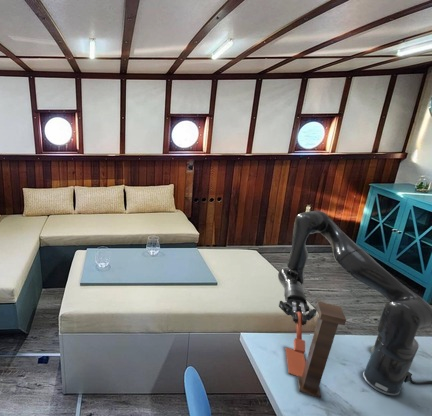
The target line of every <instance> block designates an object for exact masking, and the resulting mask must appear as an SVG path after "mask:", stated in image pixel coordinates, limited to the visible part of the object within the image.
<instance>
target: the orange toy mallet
mask: <svg viewBox="0 0 432 416" xmlns="http://www.w3.org/2000/svg"><path fill="white" fill-rule="evenodd" d="M297 315H298V323H297V324H296V337H295V338H294V339H293V350H294V351H295V352H299V353H302V354H304V355H305V353H306V340H304V339H303V335H302V334H303V327H302V326H303V325H302V314H301V312H297Z"/></svg>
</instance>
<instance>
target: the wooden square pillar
mask: <svg viewBox="0 0 432 416" xmlns="http://www.w3.org/2000/svg"><path fill="white" fill-rule="evenodd" d="M315 309H316V310H317V314H318V315H317V316H318V317H317V321H316V325H315V329H314V332H313V336H312V339H311V343H310V346H309V350H308V352H307V357H306V359H305V362H306V364H305V367H304V371H303V375H302V376H299V375H298V376H296V379H297V385H298V392H299V393H303V394H305V395H309V396H312V397H315V398H317V399H322V394H321V389H320V384H321V381H322V378H323V375H324V372H325V369H326V365H327V363H328V360H329V356H330V354H331V349H332V346H333V344H334V339H335V337H336V333H337V329H338V326H339V325H342V326H345V325H346V322H347V318H346V315H345V313H344V311H343V309H342V307H341V306H339V305H335V304H330V303H326V302H321V301H317V302H316V305H315Z"/></svg>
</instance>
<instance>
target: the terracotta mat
mask: <svg viewBox="0 0 432 416" xmlns="http://www.w3.org/2000/svg"><path fill="white" fill-rule="evenodd" d="M285 354H286V360H287V361H286V362H287V363H286V364H287V369H288V370H287V371H288V375H292V376H295V377H297V376H298V375H299V376H302V375H303V371H304V367H305V364H306V358H305V357H306V356H305V353H304V354H302V353H299V352H295V351H294V348H291V347H285Z"/></svg>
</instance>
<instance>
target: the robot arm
mask: <svg viewBox="0 0 432 416" xmlns="http://www.w3.org/2000/svg"><path fill="white" fill-rule="evenodd" d="M293 223H294V224H293V230H292V231H293V232H292V242H291V249H290V253H289V256H288V258H287V261H286V267H287V268H281V269H280V270H279V271H278V273H277V278H278V281H279V283H280V284H281V286H282V287H283V289H284V290H283V293H284V295H283V297H284V300H285V301H282V300H279V302H278V307H279V309H280V310H282V311H283V313H285V315H287V316H290V317H291V318H292V322H294V324H296V325H297V323H298V315H297V312H301V314H302V326H305V325H307V322H308V321H311V320H312V319H313V318H315V317H316V315H317V313H318V311H317V308H313V309H312V308H311V307H310V305H308V300H307V297H306V294H305V291H304V288H303V285H304V283H305V268H306V265H307V262H308V259H309V251H308V248H307V244H306V242H307V239H308V238H309V236H310V235H313V234H318V233H319V234H321V235H322V236H323V237H325V239H326V240H327V241H328V243H329V244H330V246H331V251H332V255H333V258H334V260H335V262H336V263H337V264H338V265H339V266H340V267H341V269H343V270H344V271H345V272H346V273H347V274H348V275H349V276H350V277H352V278H353V279H355V280H357V281H359V282H360V283H363V284H364V285H366V286H368V287H370V288H372V289H373V290H376V291H377V292H379V293H380V294H381V295H383V296H384V297H385V298H386V299H387V300H388V302H386V303H385V305H384V306H383V308H382V310H381V313H380V317H379V320H378V324H377V331H378V334H377V337H376V340H375V342H374V344H375V345H374V344H373V346H374V347H373V346H372V347H373V350H372V352H371V353H370V356H369V358H368V361H367V364H366V366H365V369H364V371H363V373H362V378H363V380H364V382H365V383H366V384H367V385H368V386H369V387H371V388H372V389H374V390H376V391H377V392H379V393H381V394H383V395H387V396H391V397H395V396H396V397H397V396H398V395H399V394H400V392H401V389H402V387H403V385H404V383H405V384H406V383H408V382H410V384H413V385H429V384H432V380H425V381H414V380H413V373H412V372H409V371H410V368H411V366H412V363H413V361H414V359H415V356H416V354H417V352H418V351H419V346H420V345H419V342H418V341H417V339H416V335H417V332H418V331H422V330H425V329H429V328H432V306H431V305H430V304H429V303H428V302H427V301H426V300H425V299H424V298H422V297H421V296H419V295H418V294H417V293H415V292H413V290H411V289H409V288H408V287H407V286H406V285H404V284H403V283H401V281H399V280H398V279H397V278H396V277H394V276H393V275H392V274H391V273H390V272H389V271H387V270H386V269H385V268H384V267H383V266H381V264H380V263H378V262H377V260H375V259H374V258H373V257H372V256H371V255H370V254H369V253H368V252H366V251H365V250H364V249H363V248H361V246H359V245H358V244H356V243H355V241H354V240H352V239H351V238H350V236H348V235H347V234H346V233H345V232H344V231H343V230H342V229H341V228H340V227H339V226H338V225H337V224H336V223H335V221H333V219H332V218H330V216H328V214H327V213H325V212H323V211H321V210H311V211H305V212H301V213H299V214H297V215H296V217H295V219H294V222H293ZM307 312H308V313H307Z"/></svg>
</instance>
